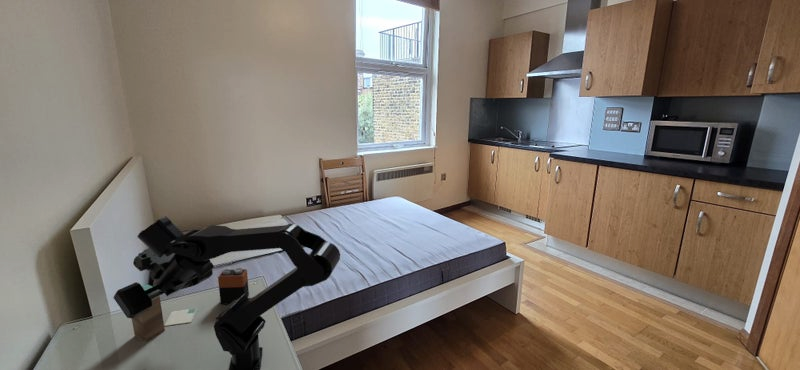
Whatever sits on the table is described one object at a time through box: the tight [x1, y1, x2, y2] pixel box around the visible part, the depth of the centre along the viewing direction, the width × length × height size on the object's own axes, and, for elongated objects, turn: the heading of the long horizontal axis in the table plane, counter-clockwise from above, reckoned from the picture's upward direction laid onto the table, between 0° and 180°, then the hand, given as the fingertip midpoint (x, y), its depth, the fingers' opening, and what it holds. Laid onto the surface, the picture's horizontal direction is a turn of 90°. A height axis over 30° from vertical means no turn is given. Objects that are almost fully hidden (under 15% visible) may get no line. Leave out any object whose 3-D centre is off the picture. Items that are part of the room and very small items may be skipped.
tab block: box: [131, 284, 166, 342], centre depth 81 cm, size 4×4×12 cm
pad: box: [164, 308, 198, 327], centre depth 88 cm, size 6×6×1 cm
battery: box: [217, 267, 250, 305], centre depth 96 cm, size 4×7×10 cm, turn 98°
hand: (154, 299), depth 78 cm, fingers open, 9 cm apart
